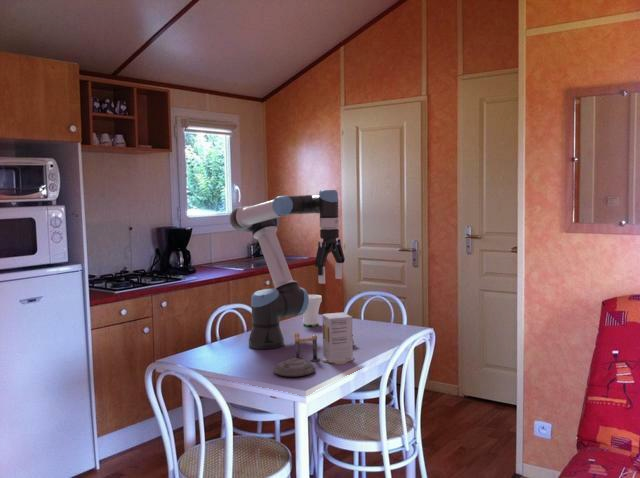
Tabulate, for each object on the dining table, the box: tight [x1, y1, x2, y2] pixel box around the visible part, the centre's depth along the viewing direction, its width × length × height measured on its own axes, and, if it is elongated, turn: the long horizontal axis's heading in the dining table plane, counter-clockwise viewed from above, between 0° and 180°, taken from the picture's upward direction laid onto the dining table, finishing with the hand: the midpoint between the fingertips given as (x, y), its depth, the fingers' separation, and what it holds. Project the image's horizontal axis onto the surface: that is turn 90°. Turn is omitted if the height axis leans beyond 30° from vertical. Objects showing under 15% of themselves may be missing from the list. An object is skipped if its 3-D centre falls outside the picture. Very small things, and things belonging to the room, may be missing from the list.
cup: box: [302, 294, 323, 328], centre depth 297 cm, size 11×11×14 cm
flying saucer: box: [273, 357, 316, 378], centre depth 220 cm, size 15×15×6 cm
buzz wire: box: [292, 332, 321, 363], centre depth 235 cm, size 12×10×10 cm
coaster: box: [321, 356, 355, 366], centre depth 235 cm, size 9×9×1 cm
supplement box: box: [321, 311, 354, 362], centre depth 234 cm, size 10×9×17 cm
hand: (330, 281), depth 247 cm, fingers open, 13 cm apart
